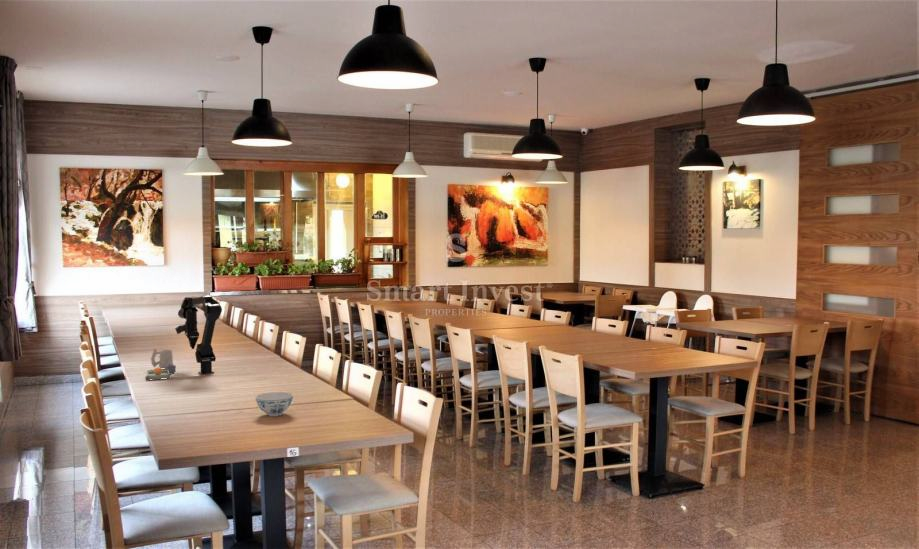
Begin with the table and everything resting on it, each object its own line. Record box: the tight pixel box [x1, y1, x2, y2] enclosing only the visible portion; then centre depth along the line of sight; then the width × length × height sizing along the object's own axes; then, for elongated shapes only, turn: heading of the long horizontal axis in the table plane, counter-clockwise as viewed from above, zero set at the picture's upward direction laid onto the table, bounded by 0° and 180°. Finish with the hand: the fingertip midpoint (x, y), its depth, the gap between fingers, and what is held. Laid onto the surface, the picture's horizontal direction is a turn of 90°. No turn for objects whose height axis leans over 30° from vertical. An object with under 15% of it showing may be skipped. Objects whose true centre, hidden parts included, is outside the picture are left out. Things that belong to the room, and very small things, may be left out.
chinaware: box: [255, 391, 294, 417], centre depth 320 cm, size 15×15×8 cm
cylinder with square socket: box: [164, 364, 177, 374], centre depth 421 cm, size 5×5×4 cm
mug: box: [150, 347, 175, 368], centre depth 435 cm, size 8×12×12 cm, turn 120°
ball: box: [153, 367, 163, 375], centre depth 407 cm, size 4×4×4 cm
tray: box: [146, 369, 171, 381], centre depth 408 cm, size 15×11×2 cm
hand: (192, 348), depth 430 cm, fingers open, 9 cm apart
